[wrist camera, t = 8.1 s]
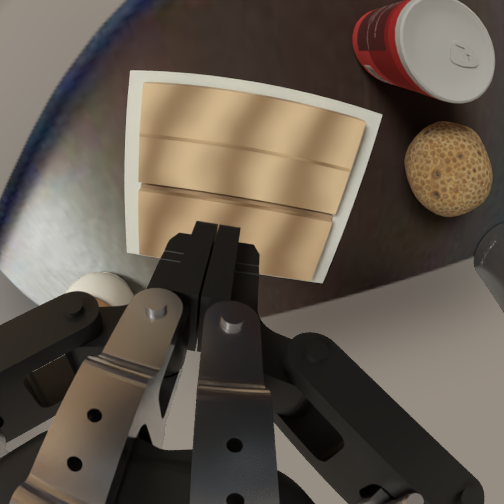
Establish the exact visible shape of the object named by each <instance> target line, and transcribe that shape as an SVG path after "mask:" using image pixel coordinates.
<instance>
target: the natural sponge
mask: <svg viewBox="0 0 504 504" xmlns="http://www.w3.org/2000/svg"><path fill="white" fill-rule="evenodd" d="M405 170H406V175H407V179H408V182H409V184H410V187H411V189H412V191H413V193H414V195H415V197H416V198H417V199H418V201H419V202H420V203H421V204H422V205H423V206H425V207H426V208H427V209H428V210H430V211H432V212H433V213H435V214H437V215H440V216H444V217H454V216H459V215H462V214H465V213H467V212H469V211H471V210H473V209H475V208H476V207H478V206H479V205H480V204H481V203H482V202H484V200H485V199H486V198H487V196H488V194H489V192H490V189H491V185H492V169H491V164H490V161H489V158H488V155H487V152H486V150H485V147H484V145H483V143H482V141H481V139H480V137H479V136H478V135H477V133H476V132H475V131H474V130H472V129H471V128H469V127H467V126H464V125H462V124H456V123H452V122H447V121H438V122H435V123H433V124H431V125H428V126H427V127H426V128H424V129H423V130H422V131H421V132H420V133H419V134H418V135H417V136H416V137H415V138H414V139H413V141H412V142H411V143H410V145H409V147H408V149H407V151H406V156H405Z"/></svg>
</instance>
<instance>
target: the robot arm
mask: <svg viewBox="0 0 504 504" xmlns="http://www.w3.org/2000/svg"><path fill="white" fill-rule="evenodd" d="M240 229H241V227H234V226H228V225H222V224H220V225H219V228H218V224H215V223H209V222H203V221H196V223H195V226H194V228H193V231H192V233H191V234H185V233H178V234H176V235H175V236H174V237H172V238H171V239H170V240H169V241H168V243H167V246H166V248H165V251H164V252H163V254H162V256H161V260H160V261H159V263H158V265H157V267H156V269H155V271H154V274H153V276H152V278H151V280H150V283H149V285H148V287H147V289H146V290H143V291H140V292H139V293H137V294H136V295H135V296H134V297H133V298H132V299H131V301H130V302H129V304H127V305H122V306H108V307H99V304H98V301H97V300H96V298H95V297H94V296H92V295H91V294H89V293H86V292H82V291H73V292H68V293H65V294H63V295H61V296H59V297H57V298H55V299H53V300H50V301H48V302H46V303H44V304H42V305H40V306H38V307H36V308H34V309H32V310H30V311H28V312H26V313H24V314H22V315H20V316H18V317H16V318H14V319H12V320H10V321H8V322H6V323H4V324H2V325H0V504H315V503H314V502H313V501H312V500H311V499H310V498H309V496H308V495H307V494H306V493H305V491H304V490H303V489H302V488H301V487H300V486H299V485H298V484H297V483H295V482H294V481H293V480H292V479H290V478H289V477H288V476H286V475H285V474H283V473H282V472H280V471H278V470H277V461H276V448H275V434H274V423H275V424H276V425H277V426H278V427H279V429H280V430H281V431H282V432H283V433H284V435H285V436H286V437H287V438H288V439H289V440H290V442H291V443H292V444H293V445H294V446H295V447H296V448H297V450H298V451H299V452H300V453H301V454H302V455H303V456H304V457H305V458H306V460H307V461H308V462H309V463H310V464H311V465H312V466H313V467H314V468H315V470H316V471H317V472H318V473H319V474H320V475H321V476H322V477H323V478H324V479H325V480H326V481H327V482H328V483H329V484H330V485H331V486H332V488H333V489H334V490H335V491H336V492H337V493H338V494H339V495H340V496H341V497H342V498H343V499H344V500H345V501H346V502H347V503H348V504H484V491H483V488H482V486H481V484H480V482H479V481H478V480H477V479H476V478H475V477H474V476H473V475H472V474H471V473H470V472H469V471H467V469H466V468H464V467H463V466H462V465H461V464H460V463H459V462H458V461H457V460H456V459H455V458H454V457H453V456H452V455H451V454H450V453H448V451H447V450H445V449H444V448H443V447H442V446H441V445H440V444H439V443H438V442H437V441H436V440H435V439H434V438H433V437H432V436H431V435H430V434H429V433H428V432H427V431H426V430H425V429H423V428H422V427H421V426H420V425H419V424H418V423H417V422H416V421H415V420H414V419H413V418H412V417H411V416H410V415H409V414H408V413H407V412H406V411H405V410H404V409H403V408H402V407H401V406H399V404H397V403H396V402H395V401H394V400H393V399H392V398H391V397H390V396H389V395H388V394H387V393H386V392H385V391H384V390H383V389H382V388H381V387H380V386H379V385H378V384H377V383H376V382H375V381H374V380H373V379H372V378H370V377H369V376H368V375H367V374H366V373H365V372H364V371H363V370H362V369H361V368H360V367H359V366H358V365H357V364H356V363H355V362H354V361H353V360H352V359H351V358H350V357H349V356H348V355H347V354H346V353H345V352H344V351H343V350H342V349H341V348H340V347H339V346H337V345H336V344H335V343H334V342H333V341H332V340H331V339H329V338H328V337H326V336H324V335H321V334H318V333H311V332H309V333H302V334H299V335H297V336H295V337H294V338H293V339H290V338H287V337H285V336H282V335H280V334H277V333H275V332H273V331H272V330H270V329H269V328H268V327H266V326H265V325H264V324H263V322H262V321H261V319H260V317H259V315H258V310H257V306H258V284H259V261H260V254H259V252H258V251H257V249H256V247H255V246H254V245H253V244H247V243H241V242H239V236H240ZM217 231H218V232H217ZM474 267H475V270H476V271H477V273H478V274H479V276H480V277H481V278H482V280H483V281H484V283H485V284H486V286H487V287H488V289H489V290H490V292H491V293H492V295H493V296H494V298H495V299H496V301H497V302H498V304H499V306H500V307H501V309H502V310H503V312H504V223H502V224H499V225H497V226H495V227H494V228H493V229H491V230H490V231H489V232H488V233H487V234H486V235H485V236H484V238H483V239H482V240H481V242H480V244H479V245H478V247H477V250H476V252H475V256H474ZM197 339H198V347H197V351H198V352H201V355H200V365H199V376H198V385H197V396H196V408H195V421H194V435H193V449H192V450H163V449H162V445H163V441H164V434H165V426H166V421H167V418H168V415H169V412H170V408H171V405H172V402H173V399H174V395H175V392H176V389H177V386H178V383H179V379H180V377H181V373H182V366H183V364H184V360H185V355H186V352H187V350H191V351H195V348H196V344H197ZM64 354H65V355H64ZM62 355H63V356H62ZM60 356H62V357H60ZM59 357H60V358H59ZM57 358H58V359H57ZM55 359H56V360H55ZM53 360H55V361H53ZM51 361H52V362H51ZM49 362H51V363H49ZM48 363H49V364H48ZM46 364H47V365H46ZM44 365H45V366H44ZM42 366H43V367H42ZM40 367H41V368H40ZM38 368H39V369H38ZM36 369H38V370H36ZM34 370H36V371H34ZM33 371H34V372H33ZM53 416H55V417H54V420H53V422H52V424H51V426H50V428H49V430H48V431H45V432H43V433H41V434H39V435H37V436H36V437H34V438H32V439H31V440H29V441H28V442H26V443H25V444H23V445H21V446H19V447H18V448H16V449H14V450H13V451H11V452H9V453H8V452H7V450H6V443H7V442H8V441H11V440H12V439H14V438H16V437H18V436H20V435H22V434H23V433H25V432H27V431H28V430H30V429H32V428H34V427H36V426H38V425H39V424H41V423H43V422H45V421H46V420H48V419H50V418H52V417H53Z"/></svg>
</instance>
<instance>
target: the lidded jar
mask: <svg viewBox="0 0 504 504" xmlns="http://www.w3.org/2000/svg"><path fill="white" fill-rule="evenodd" d="M73 291H82V292H86V293H89V294H91V295H92V296H94V297H95V298H96V300H97V301H98V304H99V307H108V306H122V305H127V304H129V302H130V301H131V299H132V298H133V297H134V294H133V293H132V291H131V289H130V287H129V285H128V284H127V283H126V281H125V280H123V279H122V278H121V277H119V276H118V275H116V274H113V273H110V272H94V273H89V274H86V275H84V276H82V277H80V278H78V279H77V280H76V281H75V282H74V283H73V284H72V285H71V286H70V287H69V288H68V289H67V291H66V292H65V293H68V292H73Z"/></svg>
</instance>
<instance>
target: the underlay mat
mask: <svg viewBox="0 0 504 504" xmlns="http://www.w3.org/2000/svg"><path fill="white" fill-rule="evenodd" d="M145 82H164V83H178V84H189V85H198V86H207V87H215V88H223V89H230V90H237V91H243V92H249V93H255V94H261V95H266V96H271V97H276V98H281V99H286V100H291V101H295V102H300V103H304V104H308V105H313V106H317V107H321V108H324V109H328V110H332V111H336V112H339V113H343V114H347V115H350V116H353V117H357V118H360V119H363V120H364V121H365V122H366V125H365V128H364V131H363V135H362V138H361V141H360V144H359V147H358V150H357V153H356V156H355V159H354V162H353V165H352V168H351V172H350V174H349V177H348V180H347V183H346V186H345V189H344V192H343V195H342V197H341V200H340V203H339V206H338V209H337V211H336V214H335V215H334V214H332V218H331V220H332V226H331V228H330V231H329V234H328V237H327V240H326V242H325V245H324V248H323V251H322V253H321V256H320V259H319V261H318V264H317V267H316V269H315V272H314V274H313V277H312V280H311V281H310V282H317V283H323V281H324V279H325V276H326V274H327V272H328V269H329V267H330V264H331V262H332V259H333V257H334V254H335V252H336V249H337V246H338V244H339V241H340V239H341V236H342V234H343V231H344V228H345V226H346V223H347V220H348V218H349V215H350V212H351V209H352V207H353V204H354V201H355V198H356V195H357V193H358V190H359V187H360V184H361V181H362V178H363V175H364V172H365V169H366V166H367V163H368V160H369V157H370V154H371V151H372V148H373V145H374V142H375V138H376V135H377V132H378V129H379V125H380V122H381V119H382V114H379V113H376V112H373V111H370V110H367V109H364V108H360V107H357V106H354V105H351V104H347V103H344V102H340V101H337V100H333V99H329V98H326V97H322V96H318V95H314V94H310V93H306V92H301V91H297V90H292V89H288V88H283V87H278V86H273V85H268V84H263V83H257V82H251V81H245V80H239V79H232V78H225V77H217V76H209V75H200V74H190V73H178V72H162V71H138V70H130V80H129V90H128V103H127V117H126V138H125V220H126V241H127V253H133V254H139V229H138V191H139V189H140V188H141V182H138V174H139V138H140V137H139V133H140V119H141V104H142V91H143V83H145ZM139 255H140V254H139ZM145 256H146V255H145ZM151 257H152V256H151ZM157 258H158V257H157ZM263 275H264V274H263ZM269 276H271V275H269ZM276 277H278V276H276ZM283 278H284V277H283ZM289 279H291V278H289ZM296 280H298V279H296ZM303 281H305V280H303Z"/></svg>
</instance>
